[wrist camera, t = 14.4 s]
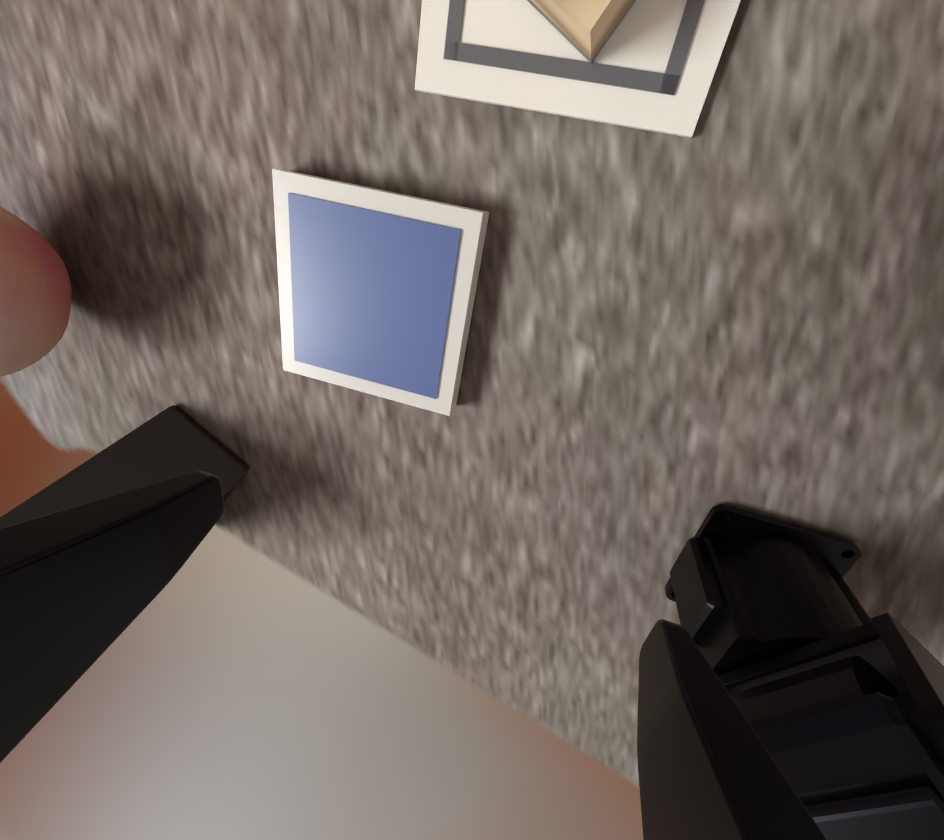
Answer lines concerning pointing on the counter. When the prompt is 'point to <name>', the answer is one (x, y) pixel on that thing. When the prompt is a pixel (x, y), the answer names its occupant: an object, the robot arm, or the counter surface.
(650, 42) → the card
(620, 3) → the stamp
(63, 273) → the decorative fruit
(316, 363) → the ink pad
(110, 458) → the phone stand
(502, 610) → the counter surface
